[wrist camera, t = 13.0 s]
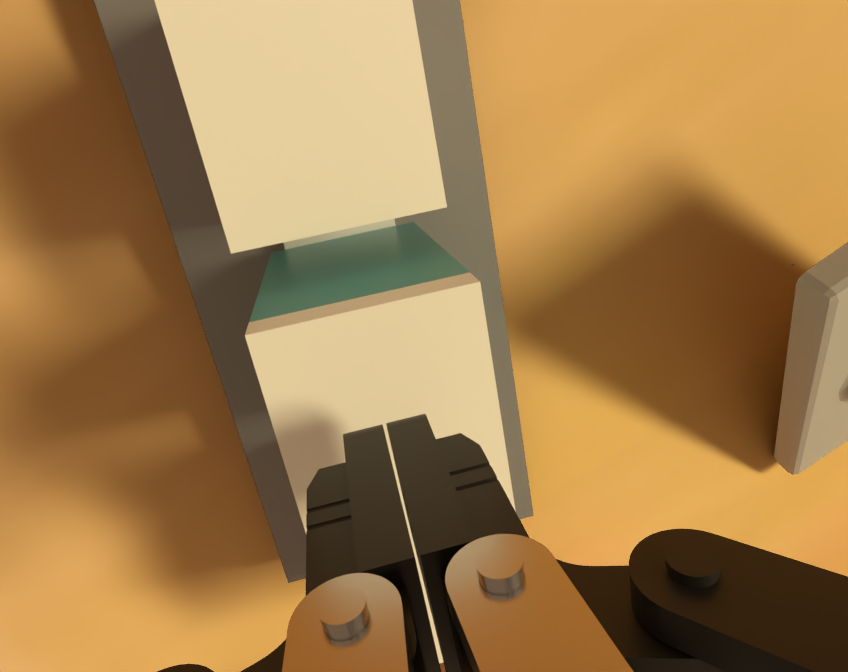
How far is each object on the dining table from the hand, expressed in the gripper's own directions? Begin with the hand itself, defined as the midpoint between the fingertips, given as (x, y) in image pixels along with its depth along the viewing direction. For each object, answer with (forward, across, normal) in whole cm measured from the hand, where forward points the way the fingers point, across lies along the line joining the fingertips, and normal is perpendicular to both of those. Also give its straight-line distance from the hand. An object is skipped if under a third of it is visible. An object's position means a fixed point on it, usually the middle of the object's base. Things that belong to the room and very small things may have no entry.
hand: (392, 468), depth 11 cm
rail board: (+12, 0, -1) cm, 12 cm away
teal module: (+9, 0, 0) cm, 9 cm away
